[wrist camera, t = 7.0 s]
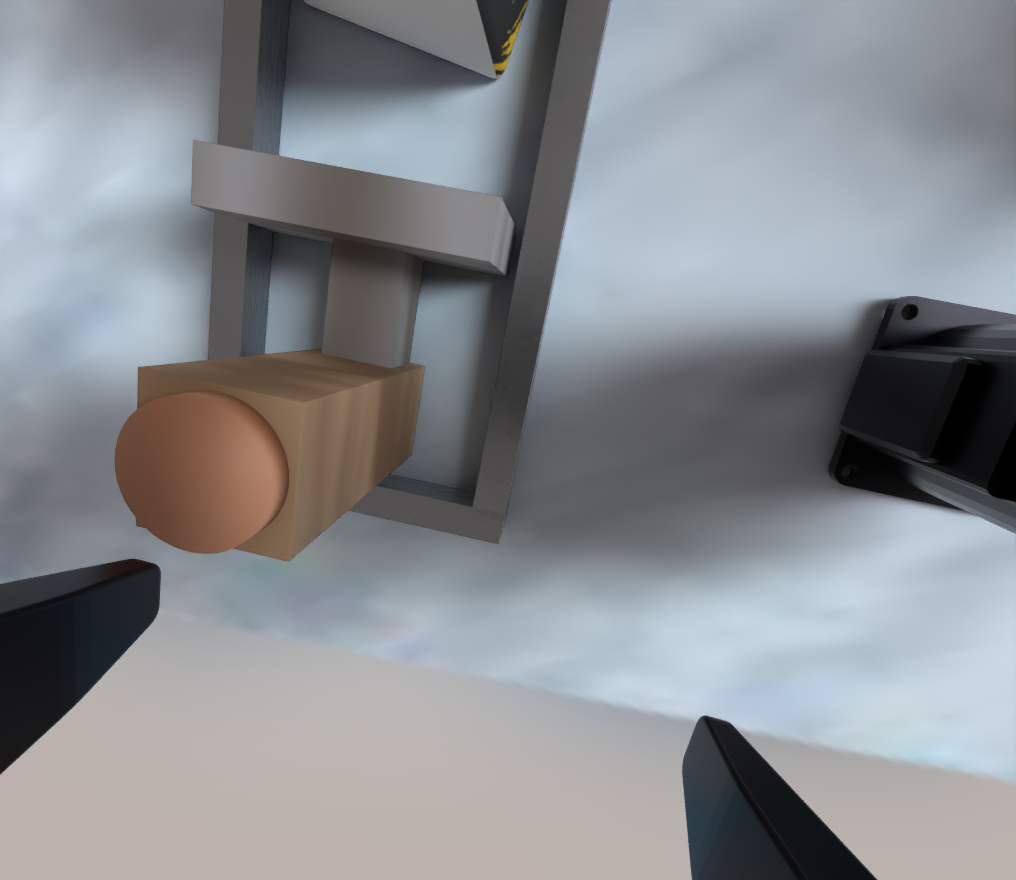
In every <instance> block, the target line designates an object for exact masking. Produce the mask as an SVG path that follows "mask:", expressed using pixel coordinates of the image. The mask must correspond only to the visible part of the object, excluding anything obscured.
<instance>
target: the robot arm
mask: <svg viewBox="0 0 1016 880" xmlns="http://www.w3.org/2000/svg"><path fill="white" fill-rule="evenodd" d="M906 305H907V306H908V307H909V309H910V314H909V316H908V317H907V318H906V319H903V317H902V315H901V311H902V309H903V308H904V306H906ZM841 426H842V428H843V429H842V432H841V435H840V438H839V440H838V443H837V446H836V449H835V451H834V454H833V457H832V460H831V462H830V465H829V471H828V472H829V475H830V477H831V478H832V479H833V480H835V481H836V482H838V483H840V484H842V485H845V486H849V487H854V488H859V489H864V490H869V491H873V492H878V493H883V494H888V495H892V496H897V497H902V498H907V499H911V500H916V501H921V502H926V503H930V504H935V505H940V506H945V507H949V508H954V509H959V510H964V511H967V512H970V513H972V514H974V515H976V516H978V517H980V518H983V519H985V520H987V521H989V522H991V523H993V524H996V525H998V526H1000V527H1002V528H1004V529H1006V530H1009V531H1011V532H1013V533H1015V534H1016V315H1013V314H1008V313H1003V312H997V311H992V310H986V309H981V308H976V307H970V306H965V305H960V304H954V303H949V302H944V301H938V300H933V299H928V298H922V297H917V296H907V297H900V298H897V299H895V300H893V301H892V302H891V303H890V304H889V306H888V307H887V309H886V311H885V314H884V317H883V320H882V322H881V325H880V328H879V331H878V333H877V336H876V339H875V342H874V344H873V347H872V350H871V352H870V353H868V354H867V355H865V357H864V360H863V362H862V365H861V368H860V371H859V373H858V376H857V379H856V382H855V384H854V387H853V390H852V393H851V396H850V398H849V401H848V404H847V407H846V409H845V412H844V415H843V418H842V420H841ZM848 465H850V466H851V471H850V472H849V474H847V475H845V476H843V475H842V470H843V469H844V467H846V466H848ZM160 582H161V571H160V569H159V567H158V566H157V565H156V564H153V563H150V562H146V561H142V560H139V559H127V560H122V561H117V562H112V563H106V564H101V565H96V566H91V567H86V568H80V569H75V570H70V571H65V572H60V573H55V574H49V575H44V576H39V577H34V578H29V579H24V580H18V581H13V582H8V583H3V584H0V774H1V773H2V772H4V771H5V770H6V769H7V768H8V767H9V766H10V765H11V764H12V763H13V762H14V761H16V759H18V758H19V757H20V756H21V755H22V754H23V753H24V752H25V751H27V750H28V749H29V748H30V747H31V746H32V745H33V744H34V743H35V742H36V741H37V740H38V739H40V738H41V737H42V736H43V735H44V734H45V733H46V732H47V731H48V730H49V729H50V728H52V727H53V726H54V725H55V724H56V723H57V722H58V721H59V720H60V719H61V718H62V717H63V716H64V715H65V714H67V713H68V712H69V711H70V710H71V709H72V708H73V707H74V706H75V705H76V704H77V703H78V702H79V701H80V700H81V699H82V698H83V697H84V695H86V693H88V692H89V691H90V689H91V688H92V687H93V686H94V685H95V684H96V683H97V682H98V681H99V680H100V679H101V678H102V676H103V675H104V674H105V673H106V672H107V671H108V670H109V669H110V668H111V667H112V666H113V665H114V663H115V662H116V661H117V660H118V659H119V658H120V657H121V656H122V655H123V654H124V653H125V652H126V651H127V649H128V648H129V647H130V646H131V645H132V644H133V643H134V642H135V641H136V640H137V639H138V638H139V636H140V635H141V634H142V633H143V632H144V631H145V630H146V629H147V628H148V627H149V626H150V625H151V623H152V622H153V621H154V619H155V618H156V616H157V614H158V610H159V605H160ZM682 774H683V787H684V796H685V797H684V798H685V807H686V808H685V809H686V819H687V831H688V842H689V853H690V865H691V874H692V880H877V879H876V878H875V877H874V875H872V873H871V872H870V871H869V870H868V869H867V868H866V867H865V866H864V865H863V864H862V863H861V862H860V861H859V859H858V858H857V857H856V856H855V855H854V854H853V853H852V852H851V851H850V850H849V849H848V848H847V847H846V846H845V845H844V844H843V842H842V841H841V840H840V839H839V838H838V837H837V836H836V835H835V834H834V833H833V832H832V831H831V830H830V829H829V828H828V826H827V825H826V824H825V823H824V822H823V821H822V820H821V819H820V818H819V817H818V816H817V815H816V814H815V813H814V811H813V810H812V809H811V808H810V807H809V806H808V805H807V804H806V803H805V802H804V801H803V800H802V799H801V798H800V797H799V796H798V794H796V792H795V791H794V790H793V789H792V788H791V787H790V786H789V785H788V784H787V783H786V782H785V781H784V779H782V777H781V776H780V775H779V774H778V773H777V772H776V771H775V770H774V769H773V768H772V767H771V766H770V765H769V763H768V762H767V761H766V760H765V759H764V758H763V757H762V756H761V755H760V754H759V753H758V752H757V751H756V750H755V749H754V747H752V745H751V744H750V743H749V742H748V741H747V740H746V739H745V738H744V737H743V736H742V735H741V734H740V733H739V731H738V730H737V729H736V728H735V727H734V726H733V725H732V724H731V723H729V722H727V721H725V720H721V719H717V718H714V717H710V716H706V715H705V716H702V717H700V718H699V720H698V721H697V724H696V726H695V729H694V731H693V734H692V737H691V739H690V742H689V745H688V747H687V750H686V753H685V755H684V759H683V767H682Z"/></svg>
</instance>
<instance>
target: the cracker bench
mask: <svg viewBox="0 0 1016 880" xmlns="http://www.w3.org/2000/svg"><path fill="white" fill-rule="evenodd" d="M610 5H611V0H567V5H566V10H565V15H564V21H563V26H562V31H561V37H560V42H559V47H558V53H557V58H556V64H555V69H554V74H553V80H552V85H551V90H550V96H549V101H548V106H547V112H546V117H545V122H544V128H543V133H542V139H541V144H540V149H539V155H538V160H537V165H536V171H535V176H534V181H533V187H532V192H531V197H530V203H529V208H528V213H527V219H526V224H525V230H524V235H523V240H522V246H521V251H520V256H519V262H518V267H517V272H516V278H515V283H514V288H513V294H512V299H511V304H510V310H509V315H508V321H507V326H506V331H505V337H504V342H503V347H502V353H501V358H500V363H499V369H498V374H497V379H496V385H495V390H494V395H493V401H492V406H491V412H490V417H489V422H488V428H487V433H486V438H485V444H484V449H483V454H482V460H481V465H480V470H479V476H478V481H477V486H476V492H475V493H474V492H469V491H465V490H460V489H456V488H451V487H447V486H442V485H437V484H433V483H428V482H424V481H419V480H415V479H410V478H406V477H401V476H397V475H392V474H389V475H388V476H387V477H386V478H385V479H384V480H382V481H381V482H380V483H379V484H378V485H377V486H375V487H374V488H373V489H372V490H371V491H370V492H369V493H367V494H366V495H365V496H364V497H363V498H362V499H360V500H359V501H358V502H357V503H356V504H355V505H354V506H352V507H351V508H350V509H349V510H350V511H354V512H359V513H363V514H367V515H372V516H376V517H381V518H385V519H390V520H394V521H398V522H403V523H407V524H412V525H416V526H421V527H425V528H429V529H434V530H438V531H443V532H447V533H452V534H456V535H460V536H465V537H469V538H474V539H478V540H483V541H487V542H491V543H496V544H499V541H500V538H501V534H502V531H503V527H504V522H505V517H506V513H507V508H508V503H509V498H510V493H511V488H512V483H513V478H514V474H515V469H516V464H517V459H518V454H519V449H520V444H521V439H522V435H523V430H524V425H525V420H526V415H527V410H528V405H529V400H530V395H531V391H532V386H533V381H534V376H535V371H536V366H537V361H538V356H539V352H540V347H541V342H542V337H543V332H544V327H545V322H546V317H547V313H548V308H549V303H550V298H551V293H552V288H553V283H554V278H555V274H556V269H557V264H558V259H559V254H560V249H561V244H562V239H563V235H564V230H565V225H566V220H567V215H568V210H569V205H570V200H571V195H572V191H573V186H574V181H575V176H576V171H577V166H578V161H579V156H580V152H581V147H582V142H583V137H584V132H585V127H586V122H587V117H588V113H589V108H590V103H591V98H592V93H593V88H594V83H595V78H596V74H597V69H598V64H599V59H600V54H601V49H602V44H603V39H604V35H605V30H606V25H607V20H608V15H609V10H610ZM289 7H290V0H224V21H223V43H222V65H221V86H220V108H219V130H218V145H223V146H228V147H234V148H239V149H244V150H250V151H255V152H261V153H266V154H272V155H277V156H279V145H280V131H281V117H282V104H283V90H284V76H285V62H286V48H287V35H288V21H289ZM272 241H273V231H272V230H269V229H266V228H263V227H260V226H257V225H254V224H251V223H248V222H244V221H241V220H238V219H235V218H232V217H229V216H226V215H223V214H220V213H217V212H215V218H214V240H213V262H212V284H211V306H210V328H209V350H208V360H215V359H225V358H235V357H245V356H255V355H264V352H265V338H266V324H267V310H268V296H269V283H270V269H271V255H272Z"/></svg>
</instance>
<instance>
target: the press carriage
mask: <svg viewBox="0 0 1016 880" xmlns="http://www.w3.org/2000/svg"><path fill="white" fill-rule="evenodd" d="M191 204H192V205H195V206H198V207H201V208H204V209H208V210H211V211H214V212H217V213H220V214H223V215H226V216H229V217H232V218H235V219H238V220H241V221H244V222H248V223H251V224H254V225H257V226H260V227H263V228H266V229H269V230H272V231H275V232H278V233H283V234H288V235H293V236H299V237H304V238H309V239H314V240H319V241H324V242H329V243H333V244H332V254H331V264H330V274H329V284H328V294H327V304H326V314H325V324H324V334H323V344H322V349H315V350H305V351H295V352H285V353H275V354H265V355H255V356H245V357H235V358H225V359H215V360H206V361H196V362H186V363H176V364H166V365H156V366H146V367H138V407H137V410H136V411H135V412H134V413H133V414H132V415H131V416H130V417H129V419H128V420H127V421H126V423H125V424H124V426H123V428H122V430H121V432H120V435H119V437H118V440H117V445H116V450H115V471H116V476H117V481H118V484H119V487H120V491H121V493H122V495H123V497H124V500H125V501H126V503H127V505H128V507H129V508H130V510H131V511H132V513H133V514H134V515H135V517H136V526H139V527H143V528H146V529H148V530H149V531H150V532H151V533H152V534H153V535H155V536H156V537H158V538H159V539H160V540H162V541H164V542H166V543H168V544H169V545H172V546H174V547H176V548H179V549H182V550H185V551H189V552H194V553H205V554H210V553H219V552H223V551H227V550H230V549H232V548H233V549H237V550H242V551H246V552H250V553H254V554H259V555H263V556H267V557H272V558H276V559H280V560H284V561H290V560H291V559H292V558H294V557H295V556H296V555H297V554H298V553H299V552H300V551H302V550H303V549H304V548H305V547H306V546H307V545H309V544H310V543H311V542H312V541H313V540H314V539H315V538H317V537H318V536H319V535H320V534H321V533H322V532H324V531H325V530H326V529H327V528H328V527H329V526H330V525H332V524H333V523H334V522H335V521H336V520H337V519H339V518H340V517H341V516H342V515H343V514H344V513H345V512H347V511H348V510H349V509H350V508H351V507H352V506H354V505H355V504H356V503H357V502H358V501H359V500H360V499H362V498H363V497H364V496H365V495H366V494H367V493H369V492H370V491H371V490H372V489H373V488H374V487H375V486H377V485H378V484H379V483H380V482H381V481H382V480H384V479H385V478H386V477H387V476H388V475H389V474H390V473H392V472H393V471H394V470H395V469H396V468H397V467H399V466H400V465H401V464H402V463H403V462H404V461H405V460H407V459H408V458H409V457H410V456H411V455H412V449H413V442H414V436H415V429H416V422H417V416H418V409H419V403H420V396H421V389H422V383H423V376H424V369H425V366H422V365H417V364H412V363H409V361H410V354H411V347H412V340H413V333H414V326H415V319H416V312H417V305H418V298H419V291H420V284H421V277H422V270H423V263H424V261H427V262H433V263H438V264H443V265H448V266H453V267H458V268H464V269H469V270H474V271H479V272H484V273H489V274H494V275H500V276H505V277H508V273H509V267H510V262H511V256H512V251H513V245H514V240H515V234H516V227H515V224H514V222H513V220H512V218H511V216H510V214H509V212H508V210H507V208H506V206H505V203H504V201H503V199H502V197H499V196H494V195H488V194H483V193H477V192H472V191H467V190H461V189H456V188H450V187H445V186H439V185H434V184H429V183H423V182H418V181H412V180H407V179H402V178H396V177H391V176H385V175H380V174H374V173H369V172H364V171H358V170H353V169H347V168H342V167H337V166H331V165H326V164H320V163H315V162H309V161H304V160H299V159H293V158H288V157H282V156H277V155H272V154H266V153H261V152H255V151H250V150H244V149H239V148H234V147H228V146H223V145H217V144H212V143H207V142H201V141H196V140H193V159H192V188H191Z"/></svg>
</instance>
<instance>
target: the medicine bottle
mask: <svg viewBox="0 0 1016 880" xmlns="http://www.w3.org/2000/svg"><path fill="white" fill-rule="evenodd" d="M303 1H304V2H306V3H307V4H308V5H310V6H312V7H315V8H317V9H320V10H322V11H325V12H327V13H330V14H332V15H335V16H337V17H340V18H342V19H345V20H347V21H350V22H352V23H355V24H357V25H360V26H362V27H365V28H367V29H370V30H372V31H375V32H378V33H380V34H383V35H385V36H388V37H390V38H393V39H395V40H398V41H400V42H403V43H405V44H408V45H410V46H413V47H415V48H418V49H420V50H423V51H425V52H428V53H430V54H433V55H435V56H438V57H440V58H443V59H445V60H448V61H450V62H453V63H455V64H458V65H460V66H463V67H465V68H468V69H470V70H473V71H475V72H478V73H480V74H483V75H486V76H488V77H491V78H499V77H501V76H502V75H503V73H504V71H505V69H506V66H507V63H508V60H509V57H510V54H511V51H512V48H513V45H514V42H515V39H516V36H517V33H518V30H519V27H520V24H521V21H522V18H523V15H524V12H525V9H526V6H527V3H528V0H303Z"/></svg>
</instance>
